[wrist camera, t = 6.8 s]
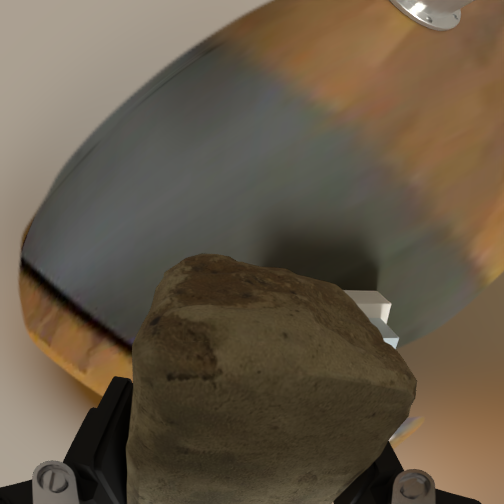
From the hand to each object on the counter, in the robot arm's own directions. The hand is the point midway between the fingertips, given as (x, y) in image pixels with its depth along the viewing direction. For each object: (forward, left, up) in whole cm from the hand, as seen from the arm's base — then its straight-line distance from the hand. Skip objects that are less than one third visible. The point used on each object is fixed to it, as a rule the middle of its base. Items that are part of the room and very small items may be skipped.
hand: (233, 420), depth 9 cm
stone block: (0, 0, -1) cm, 1 cm away
